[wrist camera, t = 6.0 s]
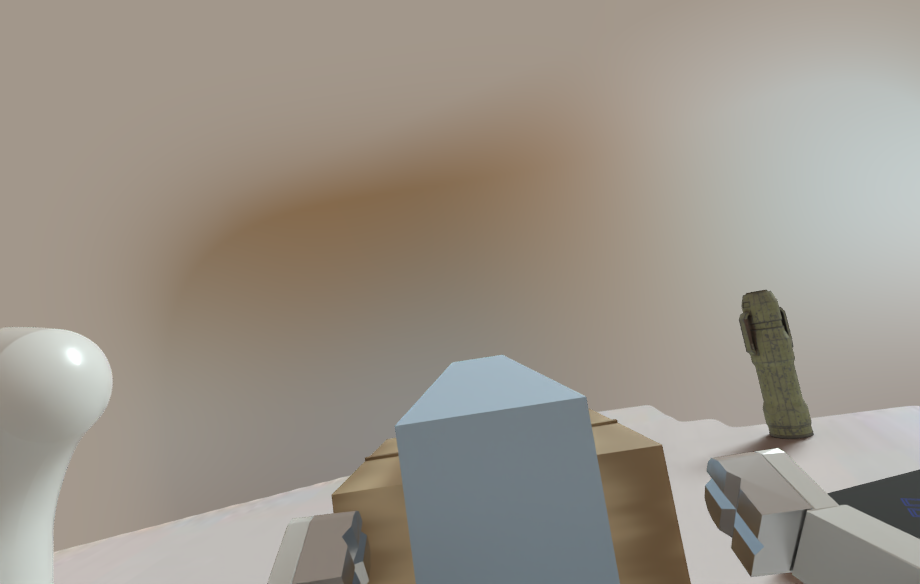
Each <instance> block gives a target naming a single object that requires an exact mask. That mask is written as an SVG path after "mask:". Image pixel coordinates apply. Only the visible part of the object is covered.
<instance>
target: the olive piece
mask: <svg viewBox="0 0 920 584" xmlns="http://www.w3.org/2000/svg"><path fill="white" fill-rule="evenodd" d="M742 310H743V314H741V315H740V318H739V322H740V326H741V330H742V335H743V339H744V343H745V347H746V351H747V352H748V353H749V354H750V355H751V360H752V363H753V364H754V365H755V367H756V371H757V375H758V379H759V384H760V388H761V392H762V396H763V400H764V403H763V411H764V415H765V420H766V424H767V425H768V427H769V433H770V435H771V436H772V437H776V438H786V439H794V438H805V437H809V436H812V435H813V431H812V427H811V418H810V414H809V410H808V406H807V404H806V403H805V401H804V400H803V398H802V394H801V390H800V386H799V382H798V378H797V374H796V370H795V366H794V360H795V356H794V352H793V349H792V348H793V342H792V337H791V334H790V329H789V325H788V321H787V317H786V314H785V311H784V310H783V309H782V308H781V307H779V305H778V301H777V299H776V298H775V296H774V295H773V293H772V292H771V291H767V290H762V291H756V292H751V293H746V295H743V299H742Z"/></svg>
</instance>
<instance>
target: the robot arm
mask: <svg viewBox="0 0 920 584" xmlns="http://www.w3.org/2000/svg"><path fill="white" fill-rule="evenodd" d="M112 386H113V378H112V371H111V367H110V365H109V362H108V360H107V358H106V356H105V355H104V353H103V352H102V351H101V349H100V348H99V347H98V346H97V345H96V344H95V343H93V342H92V341H91V340H89V339H88V338H86V337H85V336H83V335H80V334H78V333H75V332H72V331H68V330H62V329H51V328H36V327H35V328H34V327H6V328H0V584H54V582H53V530H54V518H55V512H56V505H57V501H58V497H59V493H60V489H61V486H62V482H63V479H64V476H65V473H66V470H67V468H68V464H69V462H70V459H71V457H72V455H73V452H74V450H75V448H76V446H77V444H78V443H79V441H80V440H81V438H82V437H83V435H84V434H85V433H86V432H87V431H88V429H89V428H90V427H91V426H92V425H93V424H94V423H95V422H96V421H97V420H98V419H99V418H100V416H101V415H102V414H103V412H104V410H105V409H106V407H107V405H108V403H109V400H110V396H111V393H112ZM707 472H708V473H709V475H710V476H711V478H712V479H711V480H710V481H709V482H708V483H707V484H706V485H705V501H706V505H707V509H708V511H709V513H710V515H711V518H712V520H713V521H714V523H715V524H716V526H717V527H718V529H719V530H720V531H722V532H724V533H725V534H727V535H729V536H730V537H732V546H731V548H732V550H733V551H734V553H735V554H736V556H737V557H738V558H739V560H740V561H741V563H742V564H743V566H744V567H745V569H746V570H747V572H748V573H749V575H750V576H751V577H756V576H764V575H773V574H782V573H790V572H792V575H793V576H795V577H796V578H797V579H799V580H800V581H801V582H803V583H804V584H920V539H918V538H916V537H914V536H912V535H910V534H908V533H905V532H903V531H901V530H899V529H897V528H895V527H893V526H891V525H888V524H886V523H884V522H882V521H880V520H878V519H876V518H874V517H871V516H869V515H867V514H865V513H863V512H861V511H859V510H857V509H854V508H852V507H850V506H848V505H838V504H837V503H836V502H835V501H834V500H833V499H832V498H831V497H830V496H829V495H828V494H827V493H826V492H825V491H824V490H823V489H822V488H821V487H820V486H819V485H818V484H817V483H816V482H815V481H814V480H813V479H812V478H811V477H810V476H809V475H808V474H807V473H806V472H804V471H803V470H802V469H801V468H800V467H799V466H798V465H797V464H796V463H795V462H794V461H793V460H792V459H791V458H790V457H789V456H788V455H787V454H786V453H785V452H784V451H782V450H780V449H778V448H775V449H768V450H761V451H755V452H747V453H741V454H735V455H728V456H722V457H716V458H711V459H710V460H709V462H708V466H707ZM362 522H363V521H362V518H361V516H360V513H359V511H350V512H341V513H333V514H325V515H316V516H311V517H303V518H294V519H292V520H291V522H290V523H289V524H288V526H287V528H286V531H285V534H284V537H283V540H282V543H281V546H280V548H279V551H278V554H277V557H276V560H275V563H274V566H273V569H272V571H271V574H270V577H269V580H268V583H267V584H367V583H368V582H369V578H370V569H371V552H370V546H369V541H368V537H367V535H366V534H364V533H363V532H361V528H362Z"/></svg>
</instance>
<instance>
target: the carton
mask: <svg viewBox="0 0 920 584" xmlns="http://www.w3.org/2000/svg"><path fill="white" fill-rule="evenodd" d="M589 415H590V420H591V426H592V431H593V437H594V442H595V448H596V453H597V459H598V464H599V470H600V476H601V481H602V487H603V492H604V498H605V503H606V509H607V514H608V520H609V525H610V531H611V536H612V542H613V547H614V553H615V558H616V564H617V569H618V575H619V580H620V584H691V582H690V578H689V573H688V568H687V563H686V558H685V553H684V549H683V544H682V539H681V534H680V529H679V524H678V520H677V515H676V510H675V505H674V500H673V495H672V490H671V486H670V481H669V476H668V471H667V466H666V461H665V457H664V452H663V447H662V445H661V444H659V443H657V442H655V441H653V440H651V439H649V438H647V437H645V436H643V435H641V434H639V433H637V432H635V431H633V430H631V429H629V428H627V427H625V426H623V425H621V424H619V423H618V422H617V420H616V419H613V420H611V419H609V418H607V417H605V416H603V415H601V414H599V413H597V412H595V411H593V410H591V409H589ZM332 503H333V512H334V513H341V512H350V511H359V513H360V516H361V518H362V521H363V522H362V528H361V532H363V533H364V534H366V535H367V537H368V541H369V546H370V552H371V569H370V578H369V582H368V583H367V584H416V581H415V574H414V566H413V559H412V551H411V544H410V536H409V529H408V521H407V514H406V506H405V499H404V491H403V484H402V476H401V469H400V461H399V454H398V447H397V439H396V438H393V439H387V440H386V441H385V442H384V443H383V444H382V445H381V446H380V447H379V448H378V449H377V450H376V451H375V452H374V453H373V454H372V455H371V456H370V457H366V458H365V462H364V463H363V464H362V465H361V466H360V467H359V468H358V469H357V470H356V471H355V472H354V473H353V474H352V475H351V476H350V477H349V478H348V479H347V480H346V481H345V482H344V483H343V484H342V485H341V486H340V487H339V488H338V489H337V490H336V491H335V492H334V493H333V494H332Z"/></svg>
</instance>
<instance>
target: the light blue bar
mask: <svg viewBox="0 0 920 584" xmlns="http://www.w3.org/2000/svg"><path fill="white" fill-rule="evenodd" d="M395 432H396V439H397V447H398V454H399V461H400V469H401V476H402V484H403V491H404V499H405V506H406V514H407V521H408V529H409V536H410V544H411V551H412V559H413V566H414V574H415V581H416V584H620V580H619V575H618V569H617V564H616V558H615V553H614V547H613V542H612V536H611V531H610V525H609V520H608V514H607V509H606V503H605V498H604V492H603V487H602V481H601V476H600V470H599V464H598V459H597V453H596V448H595V442H594V437H593V431H592V426H591V420H590V415H589V409H588V404H587V399H586V397H585V396H584V395H582V394H580V393H578V392H576V391H574V390H572V389H570V388H568V387H566V386H564V385H561V384H560V383H558V382H556V381H554V380H552V379H550V378H547V377H546V376H544V375H541V374H539V373H538V372H536V371H533V370H532V369H530V368H528V367H526V366H524V365H522V364H520V363H518V362H516V361H514V360H512V359H510V358H507V357H506V356H504V355H498V356H492V357H485V358H479V359H472V360H466V361H459V362H453V363H452V364H450V366H449V367H448V368H447V369H446V370H445V371H444V372H443V373H442V375H440V377H439V378H438V379H437V380H436V381H435V382H434V383H433V384H432V385H431V387H430V388H429V389H428V390H427V391H426V392H425V393H424V395H422V397H421V398H420V399H419V400H418V401H417V402H416V403H415V404H414V405H413V407H412V408H411V409H410V410H409V411H408V412H407V413H406V414H405V415H404V416H403V417H402V419H401V420H400V421H399V422H398V423H397V424H396V425H395Z"/></svg>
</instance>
